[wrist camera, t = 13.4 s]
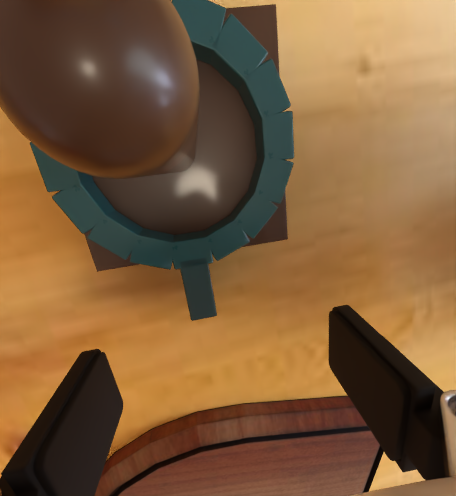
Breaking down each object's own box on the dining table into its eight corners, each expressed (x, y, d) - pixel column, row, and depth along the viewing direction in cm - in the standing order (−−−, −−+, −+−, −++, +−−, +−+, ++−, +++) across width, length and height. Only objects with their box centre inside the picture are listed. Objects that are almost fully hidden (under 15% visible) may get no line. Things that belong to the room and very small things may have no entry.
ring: (275, 1, 11) (288, -25, 10) (290, 288, 17) (299, 300, 15) (6, 22, 10) (-25, -3, 9) (110, 322, 16) (101, 338, 14)
